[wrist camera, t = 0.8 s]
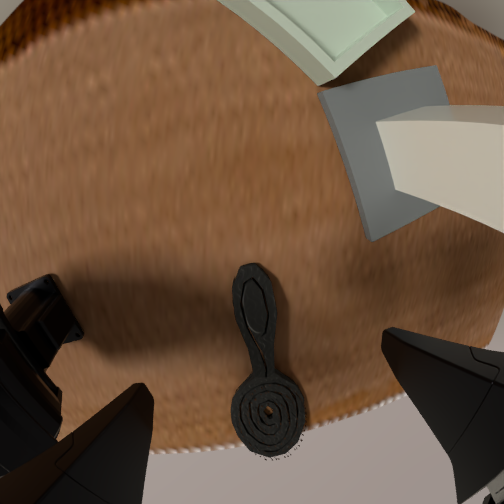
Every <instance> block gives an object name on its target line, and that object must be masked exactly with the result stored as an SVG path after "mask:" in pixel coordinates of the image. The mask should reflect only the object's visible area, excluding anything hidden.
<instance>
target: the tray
mask: <svg viewBox="0 0 504 504" xmlns="http://www.w3.org/2000/svg"><path fill="white" fill-rule="evenodd" d="M217 1H219V2H220V3H222V4H223V5H225V6H226V7H227V8H229V9H230V10H231V11H233V12H234V13H236V14H237V15H238V16H240V17H241V18H242V19H243V20H245V21H246V22H247V23H249V24H250V25H251V26H252V27H254V28H255V29H256V30H257V31H259V32H260V33H261V34H262V35H263V36H265V37H266V38H267V39H268V40H269V41H271V42H272V43H273V44H274V45H275V46H276V47H278V48H279V49H280V50H281V51H282V52H283V53H284V54H285V55H286V56H288V57H289V58H290V59H291V60H292V61H293V62H294V63H295V64H296V65H297V66H298V67H299V68H300V69H301V70H302V71H303V72H304V73H305V74H306V75H307V76H308V77H309V78H310V79H311V80H312V81H313V82H314V83H315V84H316V85H317V86H319V85H322V84H324V83H326V82H328V81H330V80H333V79H335V78H336V77H338V76H339V75H340V74H341V73H342V72H343V71H344V70H345V69H346V68H348V67H349V66H350V65H351V64H352V63H353V62H354V61H356V60H357V59H358V58H359V57H360V56H361V55H363V54H364V53H365V52H366V51H367V50H368V49H370V48H371V47H372V46H373V45H374V44H376V43H377V42H378V41H379V40H380V39H382V38H383V37H384V36H385V35H386V34H388V33H389V32H390V31H391V30H393V29H394V28H395V27H396V26H398V25H399V24H400V23H401V22H403V21H404V20H405V19H407V18H408V17H409V16H410V15H412V14H413V13H414V12H415V11H414V10H413V9H412V7H411V6H410V5H409V4H408V3H407V2H406V1H405V0H217Z"/></svg>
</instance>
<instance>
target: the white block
mask: <svg viewBox="0 0 504 504" xmlns="http://www.w3.org/2000/svg"><path fill="white" fill-rule="evenodd" d="M376 125H377V128H378V131H379V134H380V137H381V140H382V143H383V146H384V150H385V153H386V156H387V160H388V163H389V167H390V171H391V174H392V178H393V182H394V186H395V190H398V191H401V192H404V193H407V194H410V195H413V196H415V197H418V198H421V199H424V200H426V201H429V202H432V203H434V204H437V205H440V206H442V207H445V208H447V209H450V210H452V211H455V212H457V213H460V214H462V215H465V216H467V217H469V218H472V219H474V220H476V221H479V222H481V223H483V224H485V225H488V226H490V227H492V228H494V229H496V230H498V231H501V232H503V233H504V106H483V105H447V106H425V107H421V108H418V109H414V110H411V111H408V112H404V113H401V114H398V115H395V116H392V117H389V118H386V119H382V120H379V121H376Z"/></svg>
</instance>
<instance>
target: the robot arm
mask: <svg viewBox="0 0 504 504" xmlns="http://www.w3.org/2000/svg"><path fill="white" fill-rule="evenodd" d="M46 279H47V280H48V281H49V282H47V280H46ZM7 299H8V300H9V302H10V304H11V305H10V306H9V307H8V308H7V309H6V310H5V311H4V312H3V308H2V306H1V305H0V504H142V497H143V489H144V481H145V475H146V468H147V462H148V456H149V450H150V444H151V438H152V431H153V412H154V399H153V396H152V394H151V393H150V391H149V390H148V388H147V387H146V385H145V384H144V383H134V384H133V385H131V386H130V387H129V388H128V389H126V390H125V391H124V392H123V393H121V394H120V395H119V396H118V397H116V398H115V399H114V400H113V401H111V402H110V403H109V404H108V405H106V406H105V407H104V408H103V409H101V410H100V411H99V412H98V413H96V414H95V415H94V416H92V417H91V418H90V419H89V420H87V421H86V422H85V423H83V424H82V425H81V426H80V427H78V428H77V429H76V430H74V431H73V432H71V433H70V434H69V435H67V436H66V437H65V438H63V439H62V440H61V441H59V442H58V441H57V440H56V438H57V436H58V434H59V431H60V428H61V424H62V421H63V417H62V416H61V403H62V391H61V390H60V388H59V387H57V386H56V385H55V384H54V383H53V382H52V380H51V379H50V378H49V377H48V375H47V374H46V373H45V372H46V370H47V369H48V367H50V365H51V363H52V361H53V359H54V357H55V356H56V354H57V352H58V350H59V349H60V348H61V346H62V344H65V343H69V342H73V341H76V340H80V339H82V338H83V336H84V332H83V330H82V329H81V327H80V325H79V324H78V322H77V321H76V319H75V317H74V316H73V314H72V312H71V311H70V309H69V307H68V306H67V304H66V302H65V300H64V299H63V297H62V295H61V293H60V291H59V290H58V288H57V286H56V284H55V282H54V280H53V278H52V277H51V276H50V275H48V274H47V275H44V276H42V277H40V278H37V279H35V280H33V281H31V282H28V283H26V284H24V285H22V286H20V287H18V288H15V289H13V290H11V291H10V292H9V293H7ZM78 333H79V334H80V335H79V334H78ZM381 349H382V352H383V354H384V356H385V358H386V360H387V362H388V364H389V366H390V368H391V369H392V371H393V373H394V375H395V377H396V379H397V380H398V382H399V383H400V385H401V386H402V388H403V389H404V391H405V392H406V393H407V395H408V396H409V398H410V399H411V400H412V402H413V404H414V405H415V406H416V408H417V409H418V411H419V412H420V414H421V415H422V417H423V418H424V419H425V421H426V423H427V424H428V426H429V427H430V429H431V430H432V432H433V433H434V435H435V436H436V438H437V439H438V441H439V442H440V444H441V445H442V447H443V449H444V450H445V451H446V453H447V454H448V456H449V458H450V460H451V463H452V466H453V471H454V478H455V486H456V493H457V503H458V504H462V503H463V502H465V501H466V500H468V499H469V498H471V497H472V496H473V495H475V494H476V493H478V492H479V491H480V490H482V489H483V488H485V487H486V486H487V487H488V489H489V491H490V494H489V495H487V496H486V497H485V498H484V501H483V504H504V352H497V351H491V350H486V349H481V348H476V347H472V346H470V347H469V346H466V345H462V344H458V343H454V342H450V341H446V340H442V339H438V338H433V337H430V336H426V335H422V334H418V333H414V332H410V331H406V330H402V329H398V328H395V327H391V328H388V329H385V330H384V331H383V333H382V343H381Z"/></svg>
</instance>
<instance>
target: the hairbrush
mask: <svg viewBox="0 0 504 504" xmlns="http://www.w3.org/2000/svg"><path fill="white" fill-rule="evenodd" d="M267 276H268V275H267V274H265V272H264V271H263V269H261V268H260V267H259V266H258V265H256V264H255V263H249V264H246V265H242V266H241V267H240V268H239V270H238V273H237V276H236V279H235V282H234V281H233V286H232V294H233V306H234V313H235V318H236V322H237V324H238V326H239V329H240V331H241V334H242V336H243V338H244V341H245V343H246V346H247V348H248V351H249V356H250V360H251V364H252V368H253V372H252V373H251V374H250V376H249V377H248V378H247V379H246V380H245V381H244V382H243V383H242V384H241V385H240V386H239V387H240V388H239V390H238V391H237V390H236V391H237V392H236V394H235V395H234V397H233V399H232V404H231V419H232V424H233V426H234V428H235V431H236V433H237V435H238V437H239V438H240V440H241V441H242V442H243V443H244V444H245V446H246V447H247V448H248V449H249V450H250V451H252V452H254V453H257V454H260V455H263V456H266V457H270V458H271V457H273V456H278V455H281V454H285V453H287V452H288V451H289V450H290V449H291V448H292V447H293V446H294V445H295V444H296V443H297V442H298V440H299V437H300V435H301V434H302V433H301V432H302V429H303V426H304V423H305V422H306V423H307V421H306V420H305V417H306V416H305V414H306V412H305V409H306V408H305V404H304V397H303V395H302V393H301V391H300V389H299V387H298V385H296V384H295V382H294V381H293V380H292V379H291V380H292V381H293V382H292V381H291V380H290V378H289V377H287V376H286V375H284V374H282V373H281V372H279V371H278V370H277V369H275V368H274V339H275V330H276V320H277V309H276V303H275V299H274V294H273V289H272V284H271V281H270V279H269V276H268V277H267ZM234 277H235V276H234ZM252 277H254V278H255V279H254V278H252ZM251 278H252V279H251ZM248 279H249V280H248ZM247 280H248V281H247ZM254 280H255V281H254ZM256 281H257V282H258V283H259V284H260V285H259V284H258V283H257V282H256ZM244 282H245V283H244ZM243 283H244V285H243ZM260 286H261V287H262V288H263V292H264V296H265V299H266V303H267V308H268V316H267V312H266V307H265V302H264V298H263V294H262V291H261V288H260ZM241 294H242V304H243V309H242V305H241V302H240V301H241ZM244 315H245V316H244ZM245 318H246V319H245ZM266 320H267V322H266ZM246 321H247V322H246ZM247 325H248V326H247ZM265 326H266V327H265ZM248 327H249V329H250V331H251V332H252V334H253V336H254V338H255V340H256V341H257V343H258V345H259V347H260V349H261V350H262V352H263V355H264V358H265V362H266V370H265V365H264V360H263V358H262V355H261V353H260V350H259V348H258V346H257V344H256V343H255V341H254V339H253V337H252V335H251V333H250V331H249V329H248ZM265 371H266V372H265ZM288 378H289V379H288ZM288 388H289V389H290V390H291V391H292V392H293V394H294V395H295V396H296V400H297V404H298V410H297V411H296V402H295V399H294V397H293V395H292V393H291V391H290V390H289V389H288ZM279 392H280V393H281V394H280V393H279ZM282 396H283V397H284V398H283V397H282ZM242 398H243V399H242ZM284 399H285V400H286V402H287V403H288V409H289V414H288V411H287V407H286V403H285V401H284ZM250 400H251V401H250ZM241 401H242V403H241ZM249 402H251V403H250V406H249ZM274 402H275V403H274ZM240 403H241V405H240ZM276 404H277V405H278V406H279V408H280V409H281V415H282V416H281V419H280V414H279V410H278V407H277V405H276ZM239 405H240V406H241V407H240V408H241V415H242V420H243V422H244V423H243V422H242V420H241V418H240V409H239ZM258 405H259V410H258V411H259V413H260V416H261V417H260V416H259V415H258V412H257V408H258ZM267 406H269V407H270V409H271V408H272V409H273V410H272V409H271V410H272V411H273V413H272V414H271V415H272V416H271V415H268V416H267V414H266V413H265V412H264V409H265V408H266V407H267ZM249 407H251V413H252V419H253V421H252V419H251V417H250V414H249ZM268 411H269V410H268ZM289 415H290V418H289V420H288V417H289ZM306 415H307V414H306ZM260 418H261V419H260ZM280 420H281V421H280ZM305 427H306V425H305ZM304 431H305V430H304ZM302 435H303V434H302ZM301 441H302V440H301ZM260 457H261V456H260ZM265 460H266V459H265ZM276 460H277V459H276Z"/></svg>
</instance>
